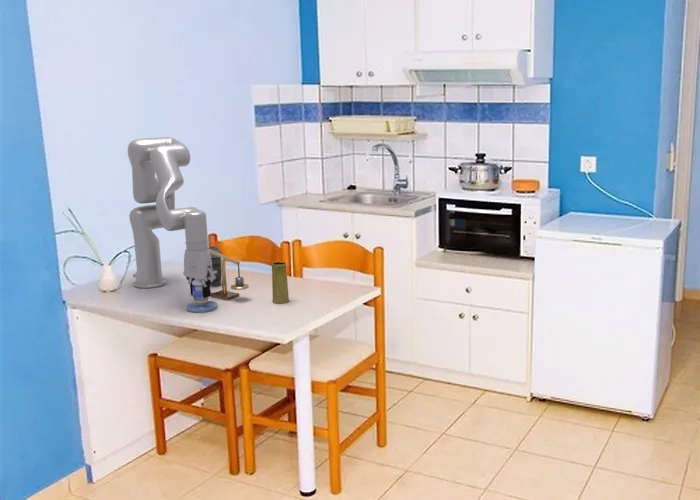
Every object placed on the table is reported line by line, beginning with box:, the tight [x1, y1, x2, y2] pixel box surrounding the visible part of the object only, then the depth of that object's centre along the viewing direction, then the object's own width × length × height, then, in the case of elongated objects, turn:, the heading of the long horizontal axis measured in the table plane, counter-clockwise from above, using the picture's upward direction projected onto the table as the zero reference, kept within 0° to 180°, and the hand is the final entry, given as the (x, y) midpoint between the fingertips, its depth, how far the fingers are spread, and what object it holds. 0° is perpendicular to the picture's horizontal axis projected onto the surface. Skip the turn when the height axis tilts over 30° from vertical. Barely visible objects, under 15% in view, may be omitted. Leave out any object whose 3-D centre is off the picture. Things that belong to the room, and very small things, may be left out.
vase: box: [271, 261, 290, 304], centre depth 278 cm, size 6×6×14 cm
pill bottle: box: [192, 279, 209, 303], centre depth 271 cm, size 5×5×10 cm
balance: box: [208, 249, 249, 301], centre depth 285 cm, size 22×6×18 cm, turn 55°
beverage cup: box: [207, 235, 223, 288], centre depth 301 cm, size 7×7×20 cm
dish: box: [185, 300, 218, 314], centre depth 273 cm, size 11×11×1 cm
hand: (200, 295), depth 272 cm, fingers closed on pill bottle, 5 cm apart
